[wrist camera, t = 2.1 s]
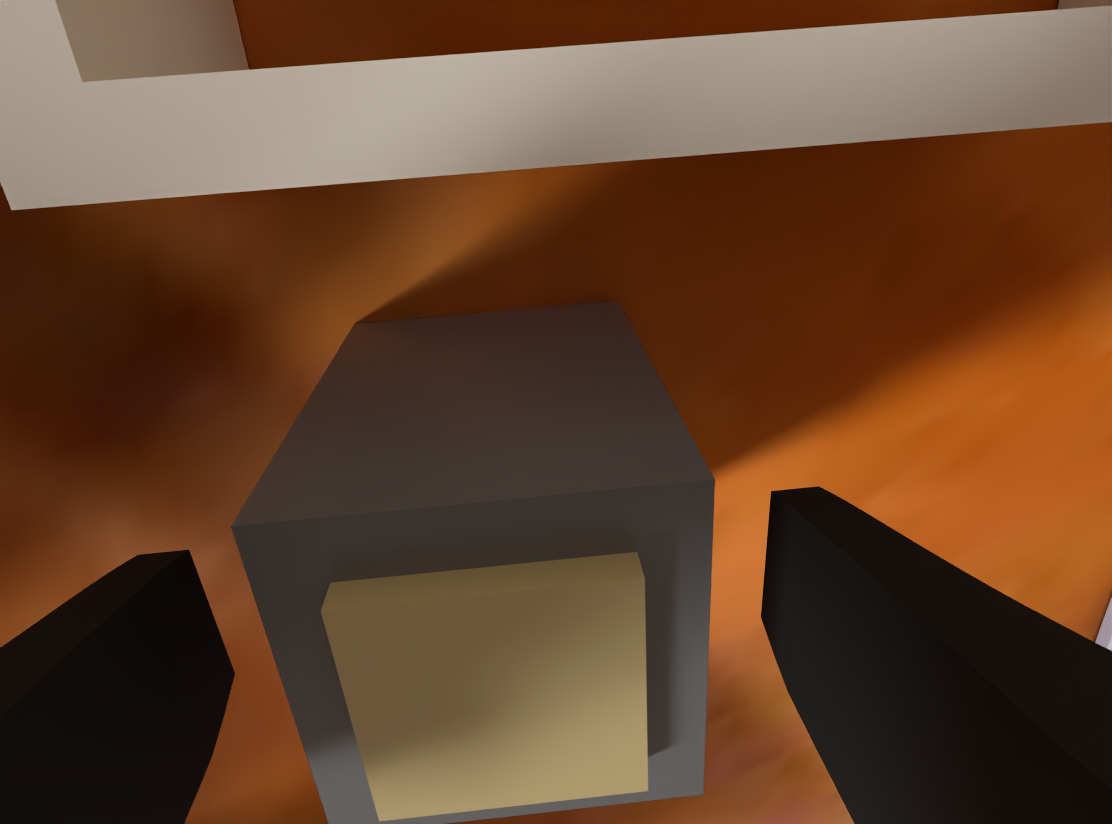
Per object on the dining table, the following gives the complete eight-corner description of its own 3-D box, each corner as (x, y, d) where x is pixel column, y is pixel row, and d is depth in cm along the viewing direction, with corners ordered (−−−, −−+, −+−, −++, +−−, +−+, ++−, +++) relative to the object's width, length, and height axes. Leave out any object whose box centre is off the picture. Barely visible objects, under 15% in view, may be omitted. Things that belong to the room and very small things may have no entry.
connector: (617, 299, 12) (726, 501, 6) (624, 516, 14) (713, 825, 8) (354, 323, 12) (214, 552, 6) (399, 539, 14) (325, 870, 8)
